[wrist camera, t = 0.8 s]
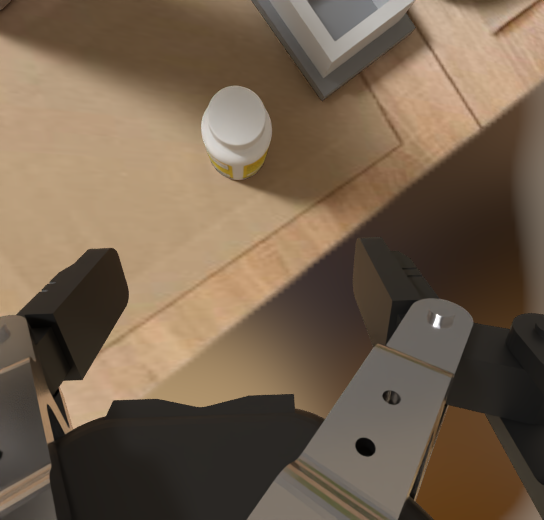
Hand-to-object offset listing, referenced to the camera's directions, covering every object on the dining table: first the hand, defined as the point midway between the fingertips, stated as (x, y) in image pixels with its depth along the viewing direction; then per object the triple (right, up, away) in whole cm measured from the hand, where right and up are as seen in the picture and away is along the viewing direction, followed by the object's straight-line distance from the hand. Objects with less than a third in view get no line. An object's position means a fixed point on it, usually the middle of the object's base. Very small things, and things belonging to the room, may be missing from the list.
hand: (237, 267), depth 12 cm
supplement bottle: (-2, +11, +21) cm, 24 cm away
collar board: (+7, +24, +21) cm, 32 cm away
